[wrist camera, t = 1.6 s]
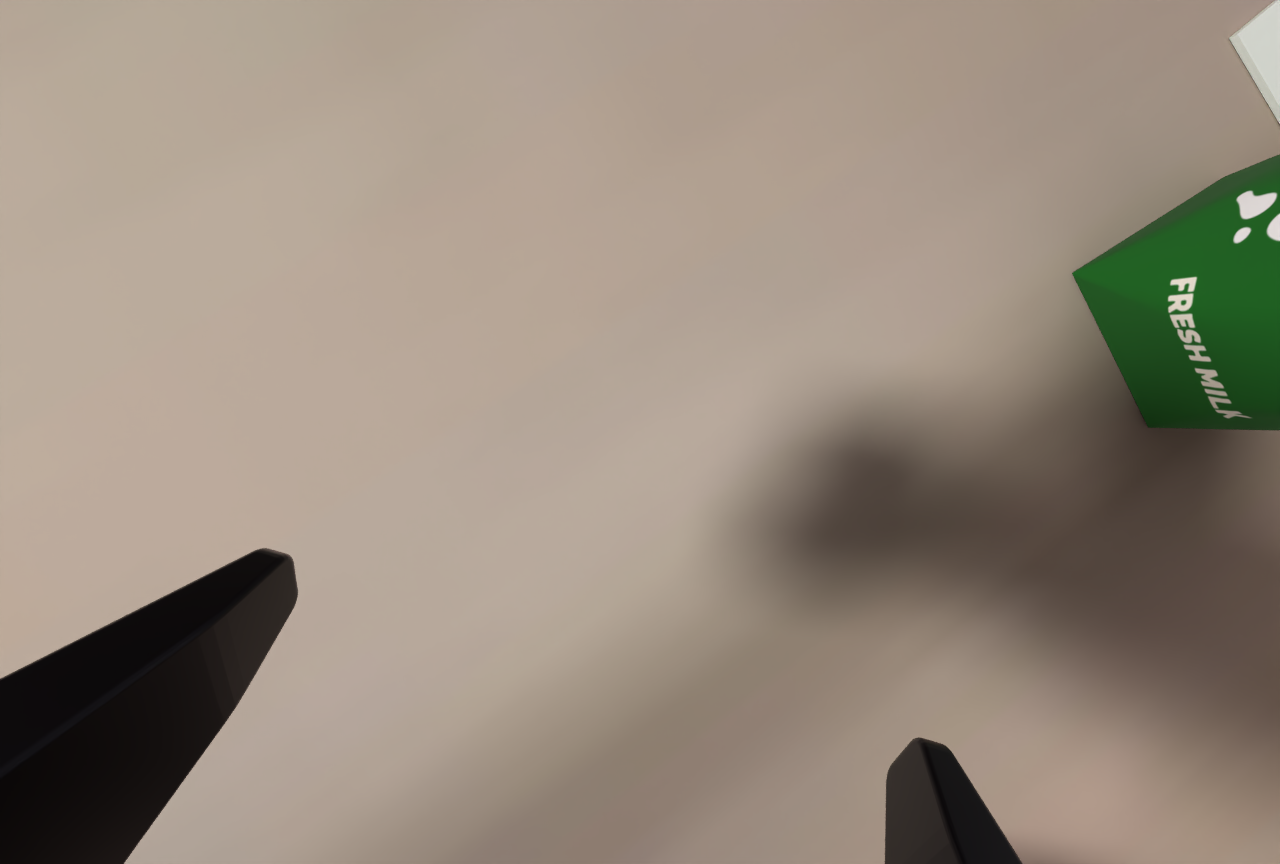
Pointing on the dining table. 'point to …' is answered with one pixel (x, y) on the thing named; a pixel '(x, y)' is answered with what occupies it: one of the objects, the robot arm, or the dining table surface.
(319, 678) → the dining table surface
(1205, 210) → the milk carton
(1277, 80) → the placemat
